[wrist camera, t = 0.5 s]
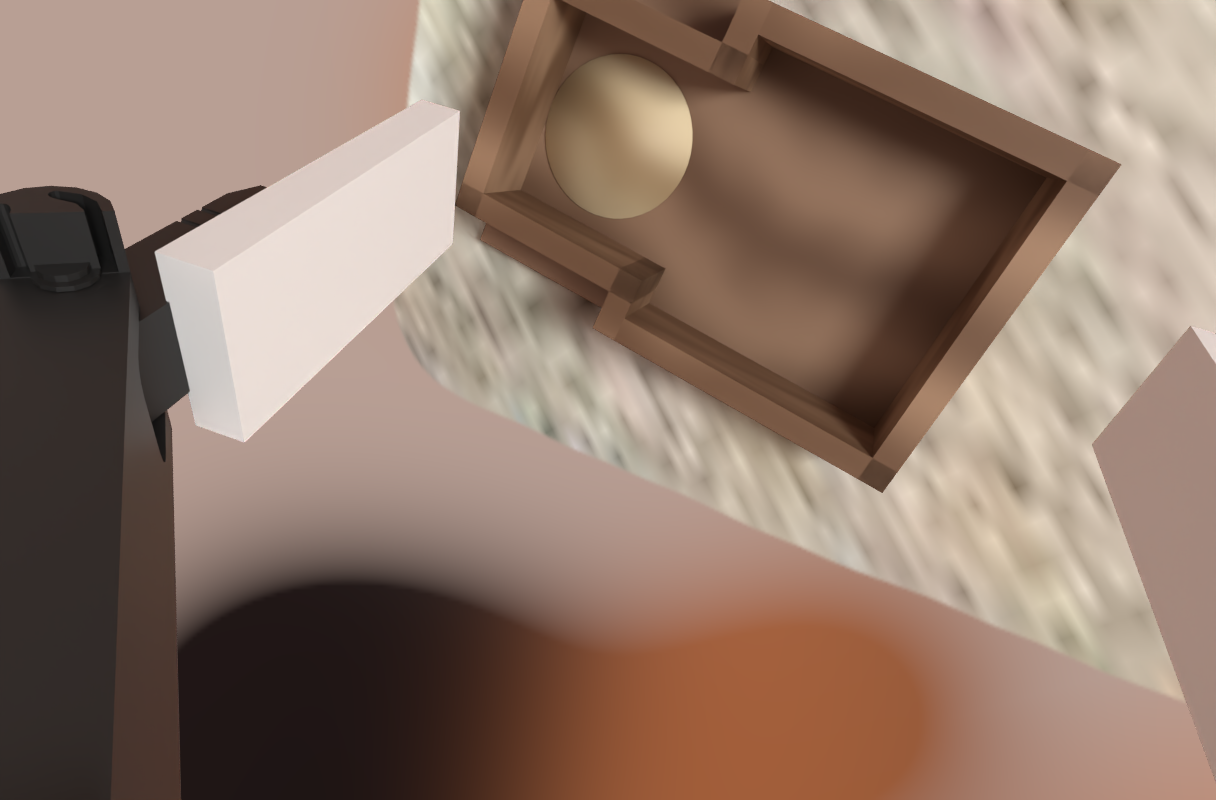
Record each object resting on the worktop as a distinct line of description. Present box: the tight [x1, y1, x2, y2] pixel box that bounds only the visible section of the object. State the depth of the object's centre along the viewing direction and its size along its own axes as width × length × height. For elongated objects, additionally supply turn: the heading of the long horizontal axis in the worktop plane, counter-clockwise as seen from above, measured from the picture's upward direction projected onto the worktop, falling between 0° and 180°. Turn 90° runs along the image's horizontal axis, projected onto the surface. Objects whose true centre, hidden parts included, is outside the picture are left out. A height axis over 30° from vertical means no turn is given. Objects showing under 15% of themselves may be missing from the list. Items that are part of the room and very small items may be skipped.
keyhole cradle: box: [455, 0, 1121, 493], centre depth 34 cm, size 16×24×5 cm, turn 65°
